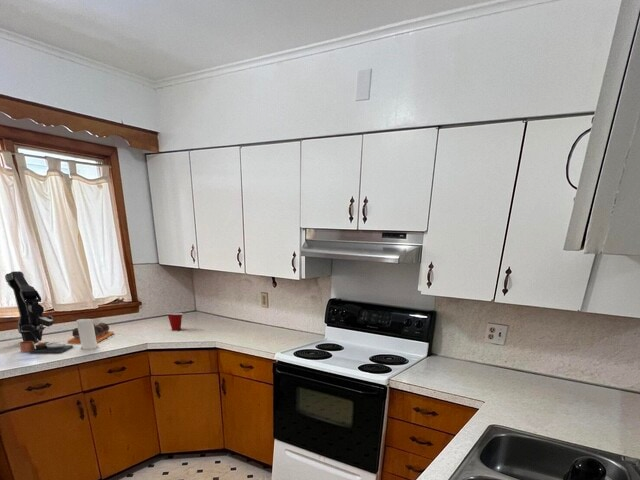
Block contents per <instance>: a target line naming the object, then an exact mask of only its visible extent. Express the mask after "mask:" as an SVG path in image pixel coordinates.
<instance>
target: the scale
mask: <svg viewBox="0 0 640 480" xmlns="http://www.w3.org/2000/svg"><path fill="white" fill-rule="evenodd" d="M34 346H35V349H34V350H31V351H30V352H29V353H30V354H54V355H55V354H56V355H57V354H59V355H61V354H63V353H65V352H68V351H69V350H71V349H73V348H74V346H73V345H71V344H69V345H68V344H67V345H65V346H61V347H46V344H44V345H43V346H39V345H38V344H34Z"/></svg>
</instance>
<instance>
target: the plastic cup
mask: <svg viewBox="0 0 640 480" xmlns="http://www.w3.org/2000/svg"><path fill="white" fill-rule="evenodd" d="M183 314H184V313H182V312H174V311H173V312H167V313H166V315H167V317H168V319H169V325H170V328H171V331H174V332H175V331H181V330H182V319H183Z"/></svg>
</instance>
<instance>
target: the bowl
mask: <svg viewBox="0 0 640 480" xmlns="http://www.w3.org/2000/svg"><path fill="white" fill-rule="evenodd" d="M18 344H19V348H20V352H22V353H31V352H30V351H31V350H34V349H36V346H35V343H34V342H33V341H23V340H22V341H20V342H18Z"/></svg>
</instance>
